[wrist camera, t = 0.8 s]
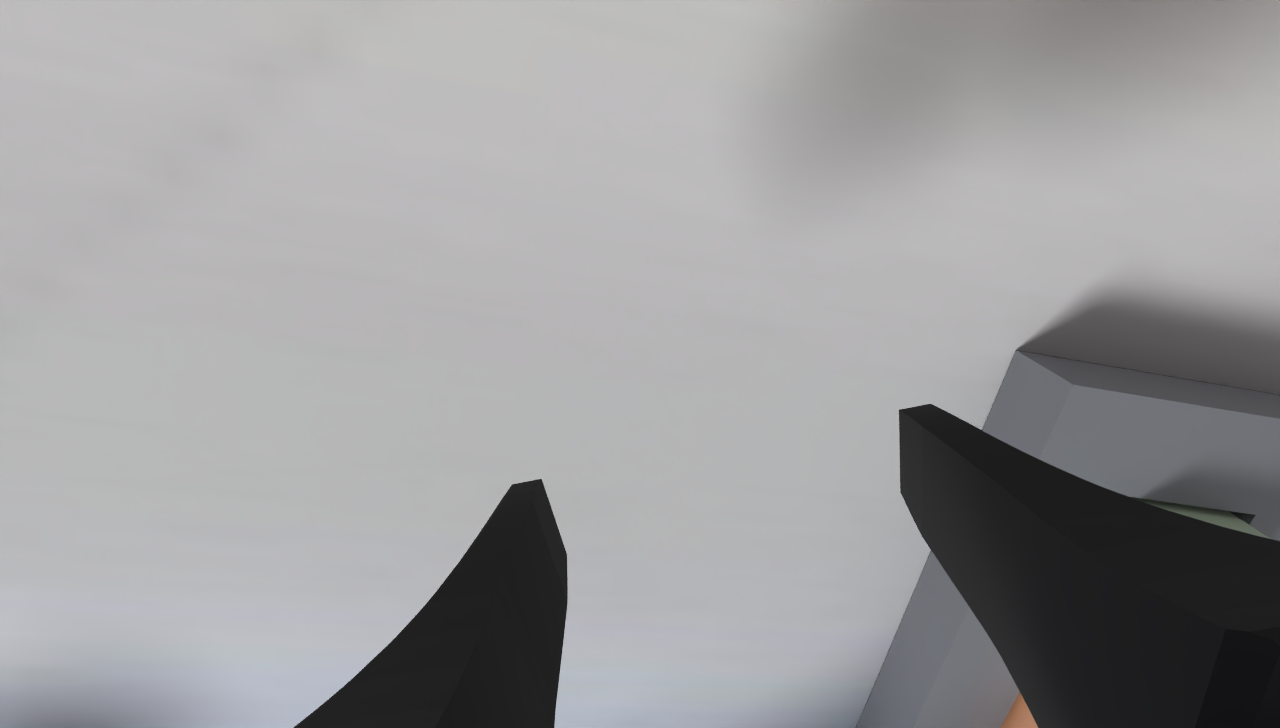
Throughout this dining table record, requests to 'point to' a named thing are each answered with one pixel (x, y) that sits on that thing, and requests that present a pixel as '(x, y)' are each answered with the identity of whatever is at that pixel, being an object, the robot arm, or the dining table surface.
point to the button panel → (1104, 455)
